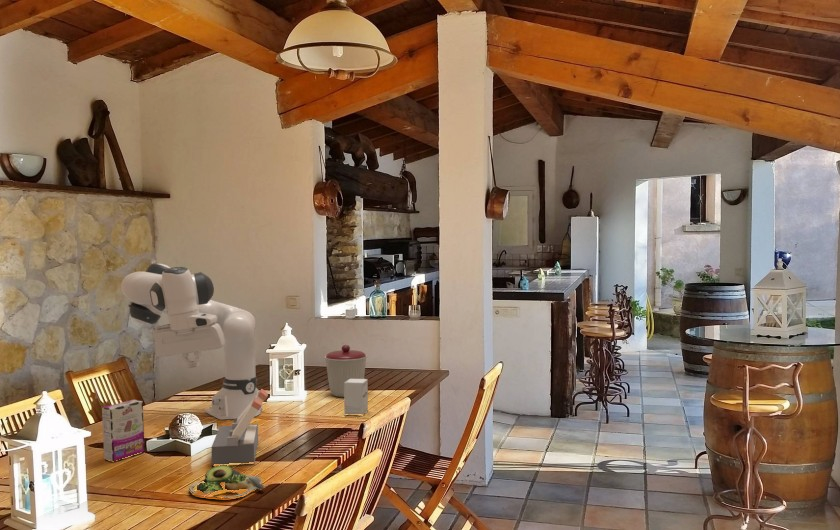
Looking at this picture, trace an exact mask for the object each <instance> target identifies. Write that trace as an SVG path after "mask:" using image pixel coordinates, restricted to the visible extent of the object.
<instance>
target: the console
mask: <svg viewBox="0 0 840 530" xmlns="http://www.w3.org/2000/svg"><path fill="white" fill-rule="evenodd" d="M237 419H238V417H235V418H234V419H233V422H232V423H231V425H220V426H219V428H218V430H217V432H216V435H215V438H214V440H213V442H212V444H211V466H212V465H214V464H229V463H249V462H254V461H255V462H256V458H255V455H256V456H257V452H256V450H257V451H258V447H257V445H259V424H258V423H255V424H251V423H250V424H249V425H248V427H247V428H246V430H245V431H244V433H243V434H242V436H241V437H240V439H239V440H238V436H233V437H232V433H233V431H234V429H235V428H236V426H237V425H238V423H236V422H237Z"/></svg>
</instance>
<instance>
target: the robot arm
mask: <svg viewBox="0 0 840 530" xmlns="http://www.w3.org/2000/svg"><path fill="white" fill-rule="evenodd" d="M120 288H121V289H120V291H121V293H122V294H123V296H124V297H125V298H126V299H127V300H128V301H130V304H128V307H129V315H130V317H131V318H133V320H134V321H136V322H137V323H139V324H142V325H155V324H156V323H157V322H158V321H159V320H160V318H161V317H162V316H161V315H162V313H164V314H165V315H167V317H168V322H169V323H168V324H162V325H157V326H155V327H154V328H153V329H152V338H153V341H154V342H153V344H154V354H155V356H156V357H158V358H164V357H171V356H172V357H173V356H176V355H177V356H178V355H181V358H182V359H183V360H184V361H185V363H186V364H187V368H188V369H192V368H197V367H199V366H200V358H201V355H202V352H206V351H210V350H212V351H213V350H217V349H218V350H219V349H221V348H223V352H224V353H223V354H224V371H225V373H224V375H225V376H224V378H221V379H220V380H221V383H222V386H221V389H219V390H218V391H217V392H216V393H215V394H214V395H213V396H212V399H211V407H208V408H206V409H205V414H208V415H210V416H211V417H214V418H216V419H218V420H223V421H224V420H234V418H235V417H239V416H240V415H241V414H242V412H243V411H244V410H245V409H246V408H247V406H248V405H249V404H250V403H251V401H252V400H253V399H254V398H255V397H256V395H257V394H258V392H259V391H260V390H259V389H258V388H257V386H258V377H257V375H256V351H255V334H254V333H255V332H254V331H255V329H256V324H257V323H256V318H255V316H254V315H253V314H252V313H251V312H250V311H248V310H246V309H243V308H240V307H236V306H233V305H229V304H227V303H222V302H219V301H216V300H213V299H212V297H213V296H214V292H215V287H214V283H213V281H212V279H211V278H210V277H209V276H208V275H207V274H205V273H203V272H201V271H200V272H199V271H198V272H196V273H193V274H192V273H191V271H190V269H189V268H187V267H184V266H175V267H171V266H169V265H167V264H164V263H155V262H154V263H151V264H150V265H148V267H147V269H146V270H145V271H142V270H141V271H134V272H132V273H131V272H130V273H129V274H127V275H126V276H125V277H124V278H123V279H122V281H121V284H120ZM191 353H193V356H194V357H195V358H194V360H191V359H190V357H189V356H190V354H191ZM262 411H263V406H261V408H260V409H259V410H258V412H257V413H256V415H255V416H254V417H257V416H260V415H261V413H262Z"/></svg>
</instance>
